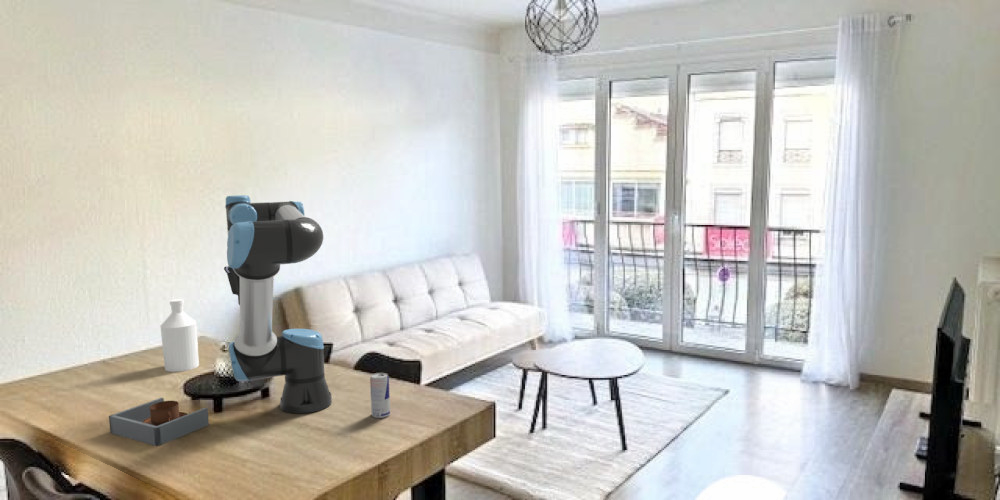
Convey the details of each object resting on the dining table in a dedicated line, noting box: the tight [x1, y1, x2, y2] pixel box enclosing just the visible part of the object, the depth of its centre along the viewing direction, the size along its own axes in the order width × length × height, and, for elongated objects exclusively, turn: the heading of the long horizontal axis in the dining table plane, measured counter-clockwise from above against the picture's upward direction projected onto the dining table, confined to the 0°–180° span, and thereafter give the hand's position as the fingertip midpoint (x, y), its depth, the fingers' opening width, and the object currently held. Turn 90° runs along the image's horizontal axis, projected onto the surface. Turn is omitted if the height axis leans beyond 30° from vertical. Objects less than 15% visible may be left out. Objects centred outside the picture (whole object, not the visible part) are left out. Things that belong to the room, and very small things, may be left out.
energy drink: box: [369, 372, 391, 419], centre depth 194 cm, size 5×5×12 cm
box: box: [108, 397, 210, 447], centre depth 187 cm, size 20×16×5 cm
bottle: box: [160, 298, 200, 373], centre depth 243 cm, size 12×12×25 cm
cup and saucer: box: [143, 400, 188, 426], centre depth 189 cm, size 12×12×6 cm
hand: (245, 314), depth 219 cm, fingers closed
